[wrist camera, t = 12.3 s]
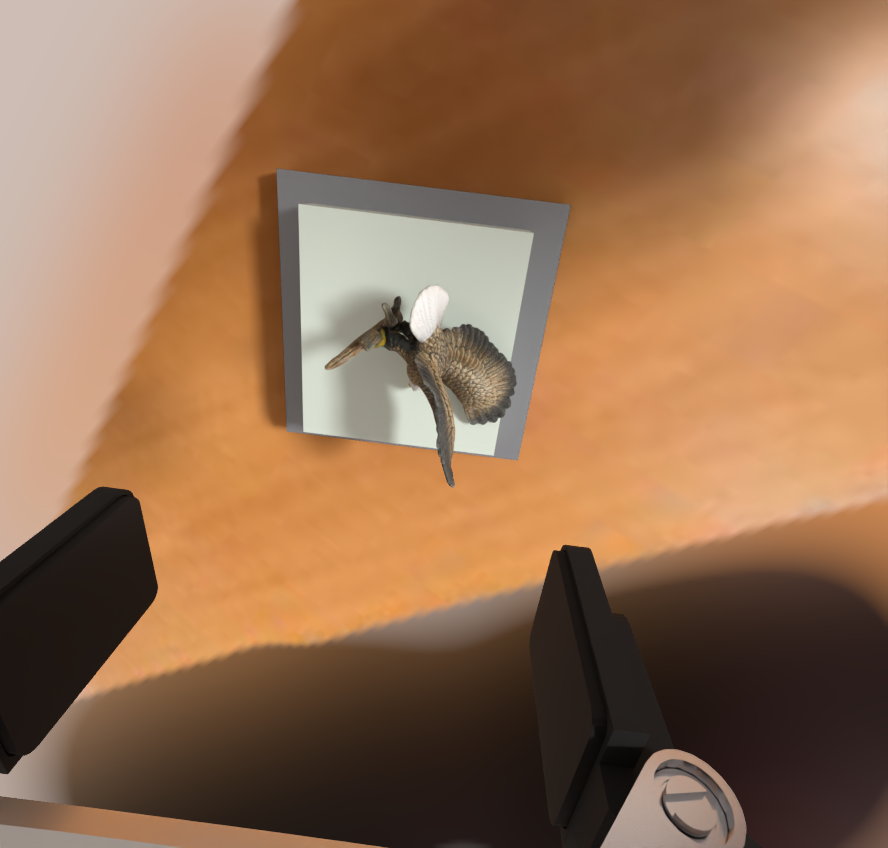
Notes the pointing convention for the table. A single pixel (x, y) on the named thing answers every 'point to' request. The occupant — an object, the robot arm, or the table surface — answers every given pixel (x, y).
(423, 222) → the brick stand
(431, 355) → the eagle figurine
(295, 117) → the table surface
